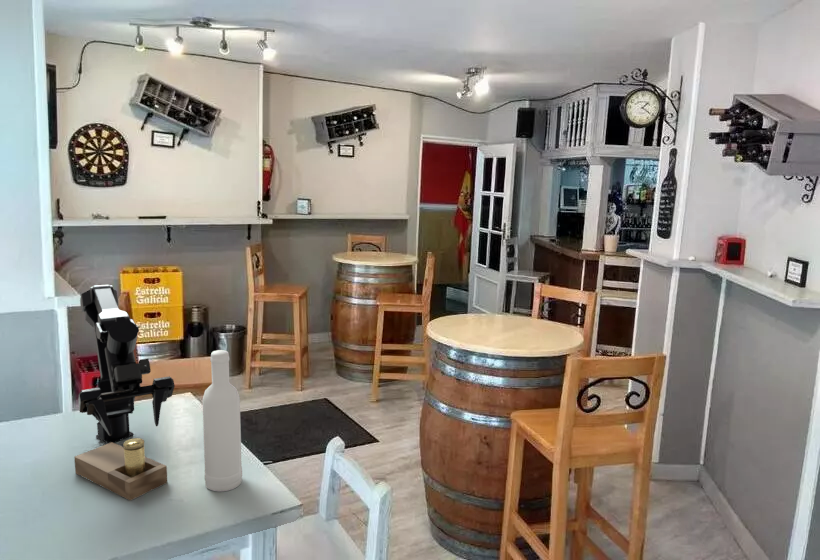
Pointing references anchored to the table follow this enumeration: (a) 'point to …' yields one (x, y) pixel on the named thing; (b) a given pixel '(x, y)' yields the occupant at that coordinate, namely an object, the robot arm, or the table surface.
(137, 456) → the disc
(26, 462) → the table surface
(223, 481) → the bottle
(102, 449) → the jig
